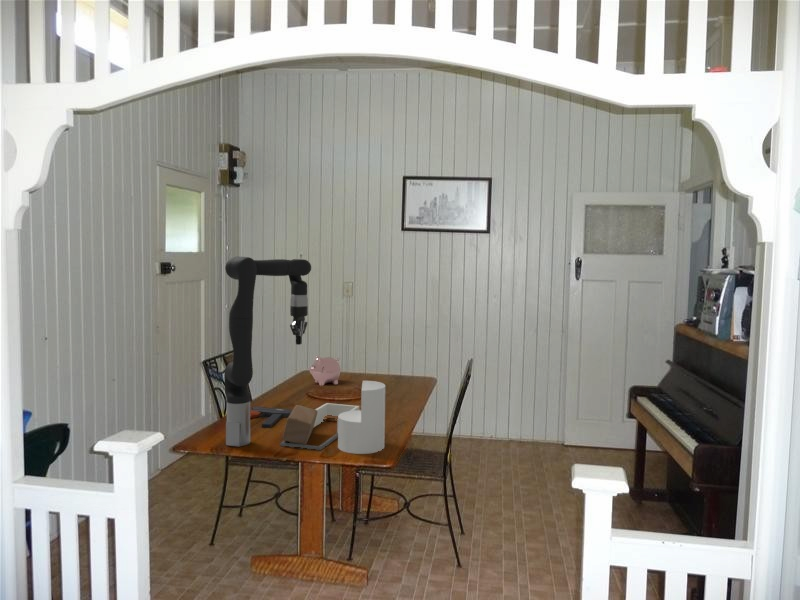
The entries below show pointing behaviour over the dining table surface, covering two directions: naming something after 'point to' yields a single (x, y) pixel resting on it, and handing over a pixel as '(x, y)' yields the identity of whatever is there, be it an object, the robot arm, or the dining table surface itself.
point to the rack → (332, 411)
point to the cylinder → (364, 422)
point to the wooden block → (299, 425)
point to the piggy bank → (325, 370)
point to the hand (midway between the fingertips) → (298, 344)
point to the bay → (285, 443)
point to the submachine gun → (269, 414)
